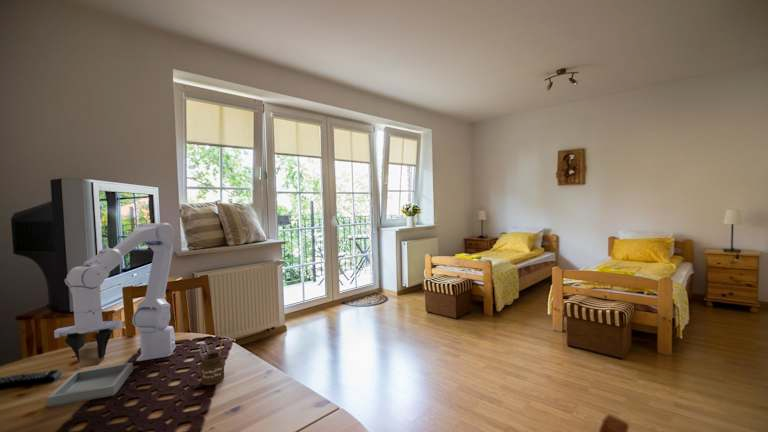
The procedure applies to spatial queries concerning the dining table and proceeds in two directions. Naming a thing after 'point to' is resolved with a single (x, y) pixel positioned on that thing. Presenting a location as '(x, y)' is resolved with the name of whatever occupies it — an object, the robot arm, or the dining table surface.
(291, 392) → the dining table surface
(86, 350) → the walnut block
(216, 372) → the utensil holder
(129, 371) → the tray
